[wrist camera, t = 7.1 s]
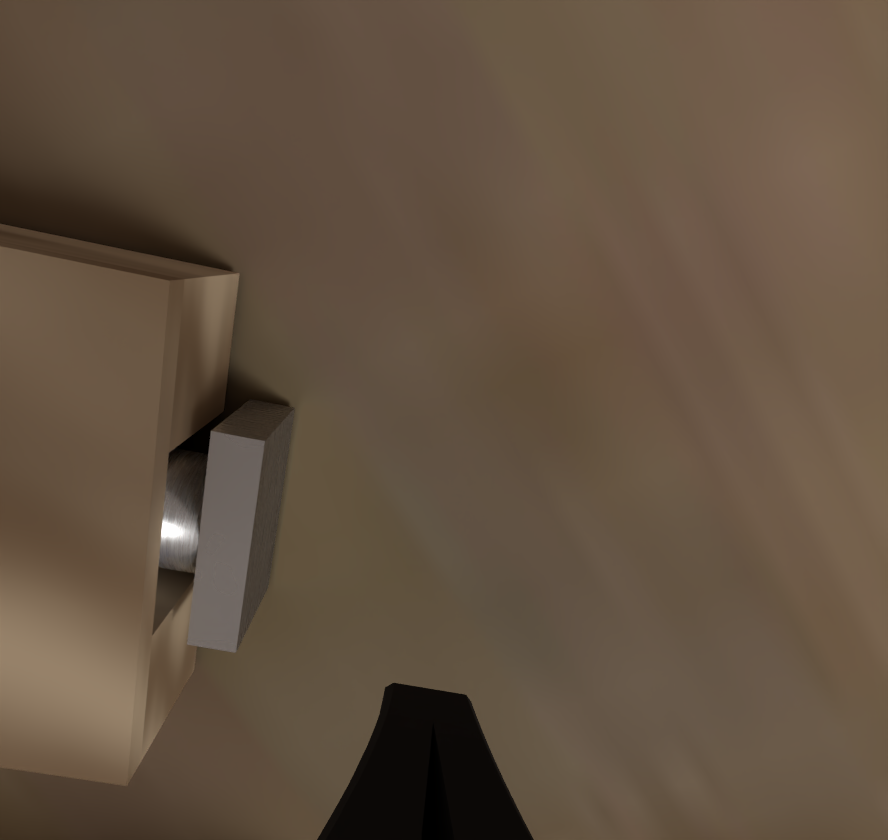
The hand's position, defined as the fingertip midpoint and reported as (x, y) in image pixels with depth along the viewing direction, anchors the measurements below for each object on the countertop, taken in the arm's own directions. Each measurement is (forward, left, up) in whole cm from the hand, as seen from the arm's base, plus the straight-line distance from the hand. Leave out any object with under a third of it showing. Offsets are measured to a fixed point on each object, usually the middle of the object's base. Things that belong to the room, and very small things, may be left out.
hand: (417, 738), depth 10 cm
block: (0, +10, -8) cm, 12 cm away
